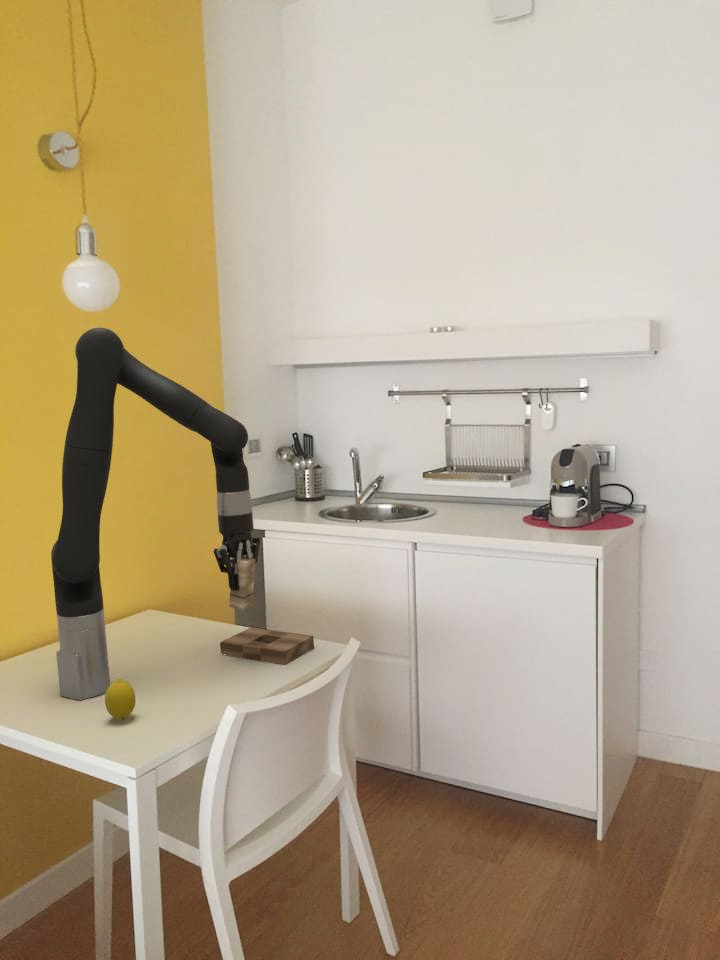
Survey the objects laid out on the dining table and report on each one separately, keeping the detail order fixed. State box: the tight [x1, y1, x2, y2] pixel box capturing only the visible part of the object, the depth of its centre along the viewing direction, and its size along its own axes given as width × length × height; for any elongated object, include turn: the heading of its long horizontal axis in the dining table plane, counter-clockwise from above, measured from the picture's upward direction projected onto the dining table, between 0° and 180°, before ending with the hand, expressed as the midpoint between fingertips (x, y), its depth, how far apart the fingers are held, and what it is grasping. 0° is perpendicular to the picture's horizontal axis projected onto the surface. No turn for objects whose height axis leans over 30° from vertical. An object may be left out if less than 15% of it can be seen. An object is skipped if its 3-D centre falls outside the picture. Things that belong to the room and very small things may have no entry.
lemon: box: [104, 679, 136, 721], centre depth 157 cm, size 6×6×8 cm
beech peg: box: [229, 556, 256, 612], centre depth 182 cm, size 4×4×11 cm
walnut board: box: [219, 626, 315, 666], centre depth 192 cm, size 12×18×3 cm, turn 61°
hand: (240, 587), depth 182 cm, fingers closed on beech peg, 3 cm apart
